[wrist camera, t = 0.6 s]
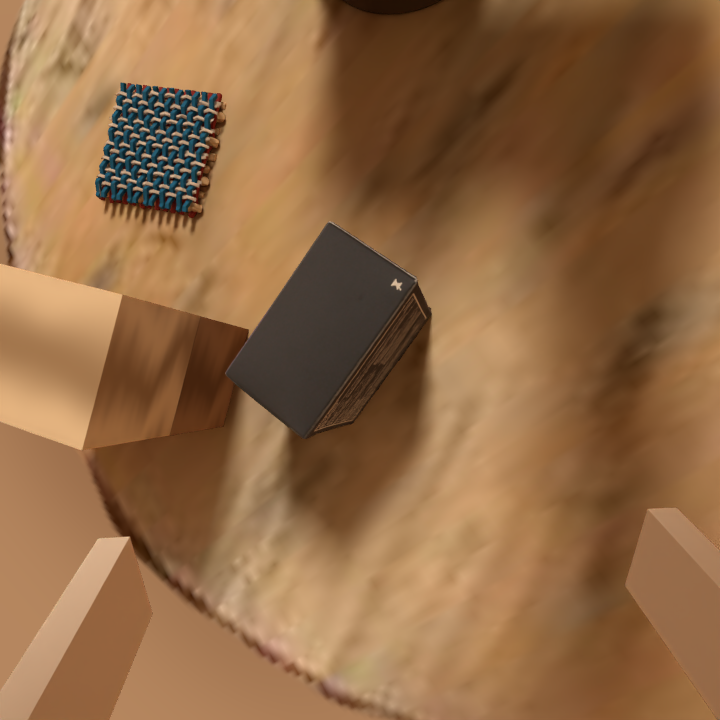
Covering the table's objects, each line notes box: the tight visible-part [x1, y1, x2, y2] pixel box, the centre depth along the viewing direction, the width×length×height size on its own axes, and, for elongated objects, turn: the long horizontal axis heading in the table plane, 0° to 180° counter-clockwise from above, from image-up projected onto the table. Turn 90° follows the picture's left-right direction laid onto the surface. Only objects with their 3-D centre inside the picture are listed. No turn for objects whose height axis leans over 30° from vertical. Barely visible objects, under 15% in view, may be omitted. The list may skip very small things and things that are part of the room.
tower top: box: [0, 264, 201, 450], centre depth 27 cm, size 8×12×7 cm, turn 75°
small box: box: [225, 222, 432, 439], centre depth 29 cm, size 11×6×10 cm, turn 144°
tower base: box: [170, 317, 249, 436], centre depth 34 cm, size 8×12×7 cm, turn 75°
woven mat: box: [95, 83, 226, 218], centre depth 38 cm, size 10×11×2 cm
